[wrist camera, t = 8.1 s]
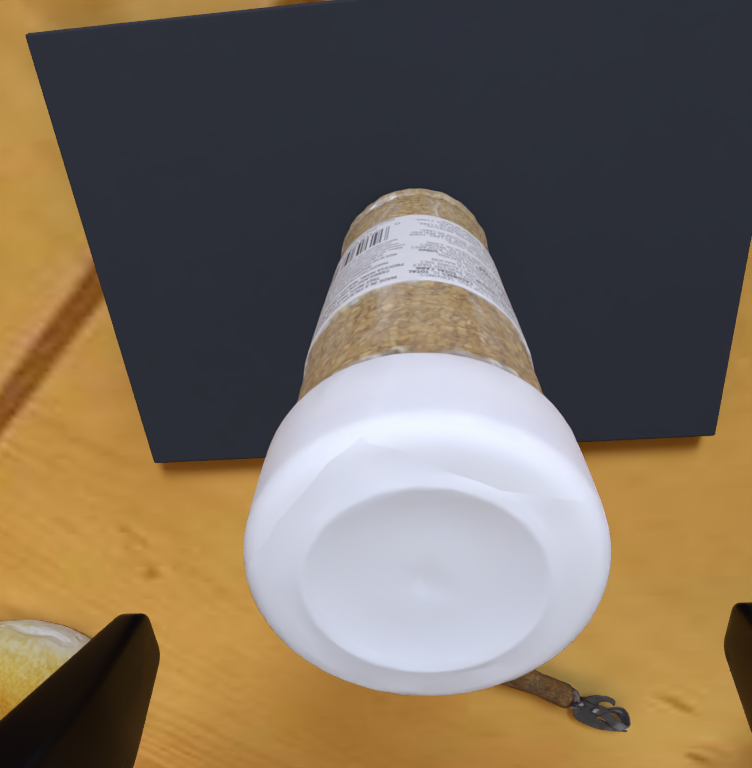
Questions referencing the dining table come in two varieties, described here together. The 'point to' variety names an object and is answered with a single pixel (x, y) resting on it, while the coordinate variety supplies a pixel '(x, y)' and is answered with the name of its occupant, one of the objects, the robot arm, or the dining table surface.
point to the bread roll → (32, 656)
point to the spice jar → (424, 474)
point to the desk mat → (413, 171)
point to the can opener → (573, 701)
